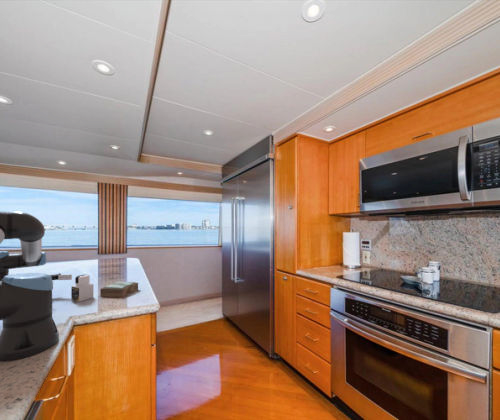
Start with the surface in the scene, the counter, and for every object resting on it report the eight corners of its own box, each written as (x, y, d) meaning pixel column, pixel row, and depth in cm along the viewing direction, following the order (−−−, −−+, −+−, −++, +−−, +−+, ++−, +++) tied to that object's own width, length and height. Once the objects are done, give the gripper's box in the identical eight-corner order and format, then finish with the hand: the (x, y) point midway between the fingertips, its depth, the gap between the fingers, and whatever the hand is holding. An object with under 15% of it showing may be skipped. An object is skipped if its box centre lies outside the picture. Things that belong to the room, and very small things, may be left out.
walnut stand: (121, 297, 123) (121, 288, 123) (100, 296, 125) (100, 287, 125) (138, 289, 136) (138, 281, 136) (118, 288, 138) (118, 281, 138)
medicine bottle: (71, 299, 121) (71, 276, 121) (86, 295, 127) (86, 273, 127) (78, 301, 117) (78, 277, 118) (93, 297, 124) (93, 274, 124)
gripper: (38, 282, 132) (78, 281, 134) (-7, 297, 108) (43, 295, 109) (38, 269, 133) (78, 267, 134) (-6, 281, 108) (43, 279, 109)
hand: (62, 280), depth 122 cm, fingers open, 13 cm apart
